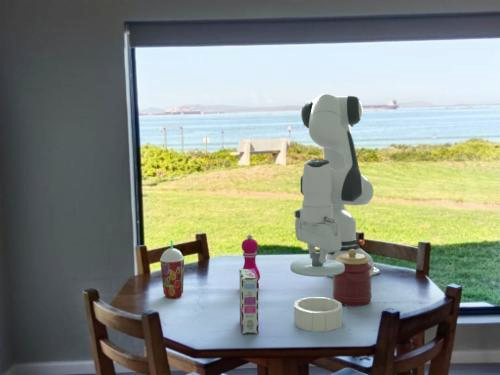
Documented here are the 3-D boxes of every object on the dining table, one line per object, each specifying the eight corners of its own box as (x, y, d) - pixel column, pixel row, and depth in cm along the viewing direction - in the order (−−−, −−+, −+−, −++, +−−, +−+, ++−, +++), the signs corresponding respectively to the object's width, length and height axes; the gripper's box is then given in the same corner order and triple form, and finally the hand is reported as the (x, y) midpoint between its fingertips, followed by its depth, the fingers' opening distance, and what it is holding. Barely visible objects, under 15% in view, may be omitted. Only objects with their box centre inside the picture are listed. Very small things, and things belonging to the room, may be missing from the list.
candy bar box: (259, 334, 149) (258, 278, 147) (242, 335, 149) (241, 278, 147) (255, 319, 160) (254, 267, 158) (239, 320, 160) (238, 268, 158)
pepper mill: (258, 291, 187) (257, 237, 185) (238, 290, 189) (237, 236, 186) (261, 285, 194) (261, 232, 192) (242, 284, 196) (241, 232, 194)
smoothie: (189, 293, 186) (187, 238, 184) (178, 301, 178) (176, 243, 176) (168, 291, 189) (166, 237, 187) (157, 299, 181) (154, 242, 179)
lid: (325, 259, 166) (325, 245, 165) (355, 272, 151) (355, 255, 151) (280, 266, 159) (280, 250, 158) (308, 279, 145) (308, 262, 144)
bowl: (325, 311, 166) (324, 294, 166) (351, 326, 154) (351, 308, 153) (285, 318, 161) (285, 301, 160) (309, 334, 148) (309, 316, 147)
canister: (363, 309, 168) (364, 255, 166) (326, 302, 174) (326, 251, 172) (376, 297, 179) (377, 247, 177) (341, 291, 185) (341, 243, 183)
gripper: (347, 219, 145) (346, 267, 147) (309, 209, 164) (309, 252, 165) (327, 221, 143) (327, 270, 144) (291, 210, 161) (291, 254, 163)
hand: (317, 260), depth 155 cm, fingers closed on lid, 3 cm apart
